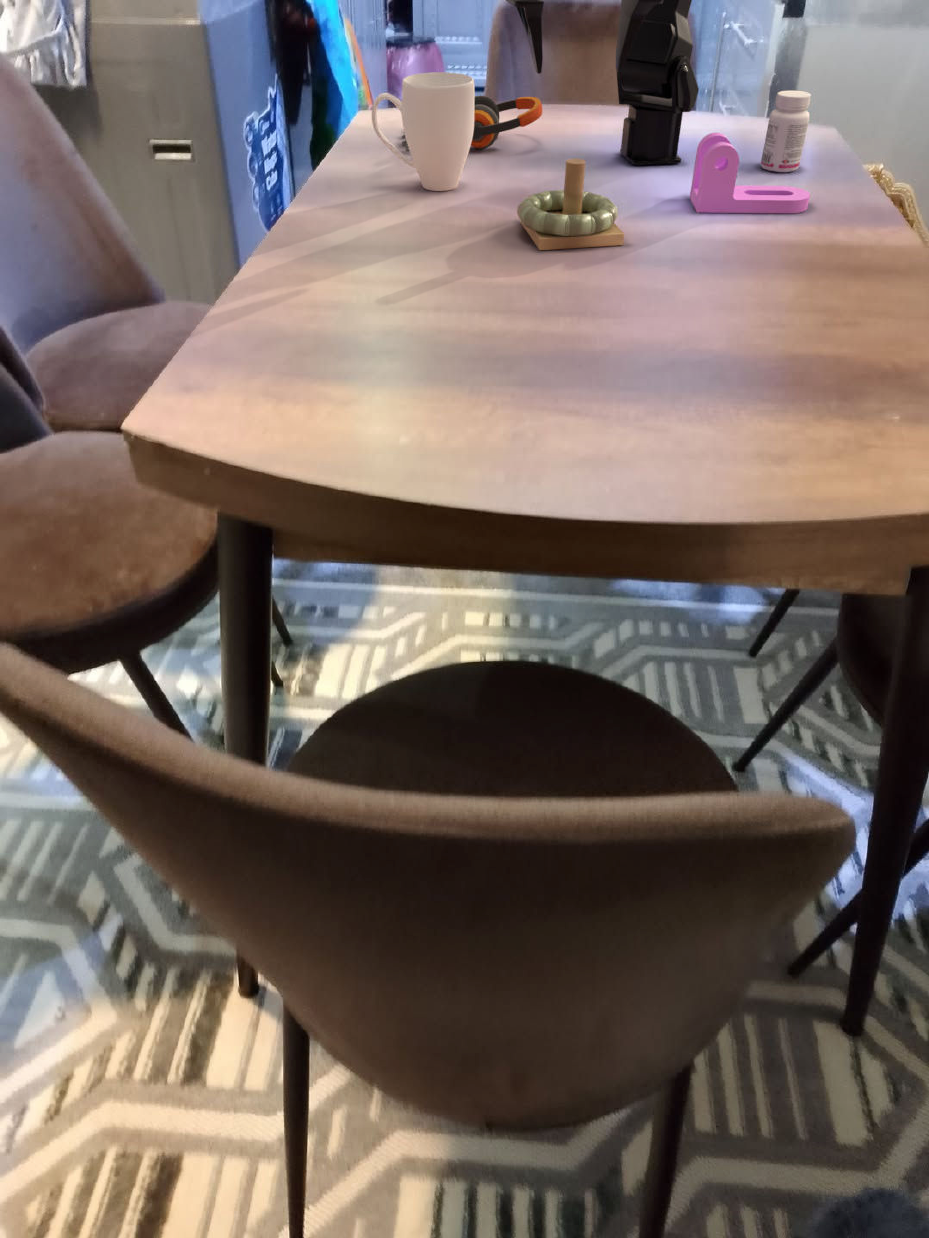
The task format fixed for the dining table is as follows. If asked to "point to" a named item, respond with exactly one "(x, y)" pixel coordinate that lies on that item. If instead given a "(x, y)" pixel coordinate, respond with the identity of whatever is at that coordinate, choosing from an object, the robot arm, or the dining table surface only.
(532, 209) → the ring
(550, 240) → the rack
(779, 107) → the pill bottle
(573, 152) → the dining table surface
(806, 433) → the dining table surface
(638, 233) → the dining table surface
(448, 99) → the mug
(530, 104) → the headphones
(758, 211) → the bracket
